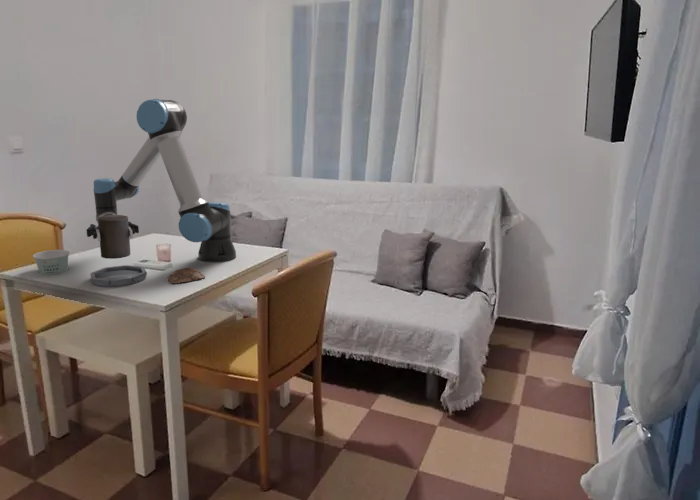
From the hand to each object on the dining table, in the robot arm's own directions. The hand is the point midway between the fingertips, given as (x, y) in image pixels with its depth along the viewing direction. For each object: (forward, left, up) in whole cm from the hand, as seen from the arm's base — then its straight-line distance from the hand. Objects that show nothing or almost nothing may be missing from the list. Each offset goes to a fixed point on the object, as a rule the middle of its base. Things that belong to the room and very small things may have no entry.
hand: (115, 235), depth 176 cm
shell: (-18, -12, -17) cm, 28 cm away
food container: (+33, -4, -17) cm, 37 cm away
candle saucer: (+3, -3, -17) cm, 17 cm away
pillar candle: (+3, -3, -8) cm, 9 cm away
